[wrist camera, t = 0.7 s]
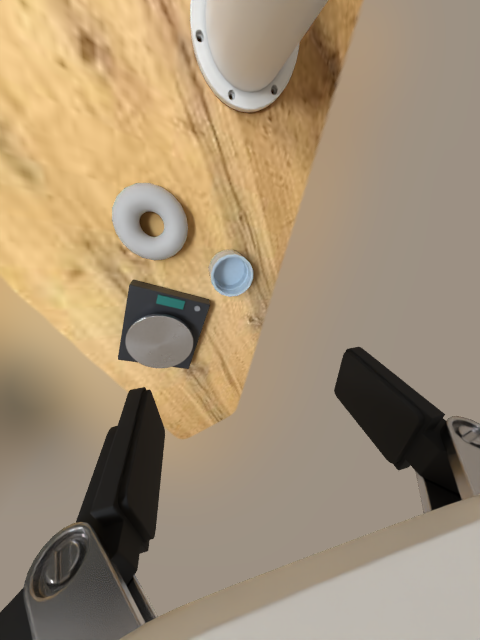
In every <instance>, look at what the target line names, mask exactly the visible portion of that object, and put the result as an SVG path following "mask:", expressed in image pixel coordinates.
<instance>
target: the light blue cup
mask: <svg viewBox="0 0 480 640" xmlns="http://www.w3.org/2000/svg"><path fill="white" fill-rule="evenodd" d="M209 276H210V279H211V282H212V284H213V286H214V288H215V289H216V290H217V291H218V292H219V293H220V294H222V295H225V296H229V297H230V296H238V295H240V294H242V293H244V292H245V291H246V290H247V289H248V288H249V287H250V285H251V282H252V280H253V269H252V267H251V264H250V262H249V261H248V260H246V259H245V258H244V257H243V256H242V255H241V254H240V253H239V252H237V251H234V250H222V251H220V252H218V253H217V254H215V256H214V257H213V258H212V259H211V261H210V265H209Z"/></svg>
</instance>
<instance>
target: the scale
mask: <svg viewBox="0 0 480 640" xmlns="http://www.w3.org/2000/svg"><path fill="white" fill-rule="evenodd" d="M209 307H210V303H209V299H205V298H201V297H197V296H193V295H190V294H186V293H182V292H178V291H174V290H170V289H167V288H163V287H159V286H155V285H151V284H148V283H144V282H140V281H136V280H133V281H132V282H131V284H130V285H129V291H128V298H127V304H126V310H125V317H124V323H123V330H122V336H121V342H120V349H119V355H118V360H125V361H133V362H137V361H136V360H135V359H134V358H133V357H132V356H131V355H130V354H129V352H128V350H127V348H126V342H125V340H126V335H127V332H128V330H129V328H130V327H131V325H132V324H133V323H134V322H135V321H137V320H138V319H140V318H142V317H144V316H147V315H151V314H167V315H171V316H174V317H176V318H178V319H180V320H181V321H183V322H184V323H185V324H186V325H187V326H188V327H189V329H190V330H191V333H192V336H193V348H192V351H191V353H190V354H189V356H188V357H187V358H186V359H185V360H184V361H183V362H181V363H179V364H177V365H175V366H172V367H178V368H186V369H189V366H190V363H191V360H192V357H193V354H194V351H195V348H196V345H197V342H198V339H199V336H200V333H201V330H202V327H203V324H204V321H205V318H206V315H207V313H208V310H209Z"/></svg>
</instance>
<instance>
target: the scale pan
mask: <svg viewBox="0 0 480 640" xmlns="http://www.w3.org/2000/svg"><path fill="white" fill-rule="evenodd" d="M125 342H126V348H127V350H128V352H129V354H130V355H131V356H132V357H133V358H134V359H135V360H136V361H137V362H139V363H141V364H143V365H145V366H148V367H152V368H168V367H172V366H175V365H177V364H179V363H181V362H183V361H184V360H185V359H186V358H187V357H188V356H189V354H190V353H191V351H192V348H193V336H192V333H191V330H190V329H189V327H188V326H187V325H186V324H185V323H184V322H183V321H181V320H180V319H178V318H176V317H174V316H171V315H167V314H151V315H147V316H144V317H142V318H140V319H138V320H137V321H135V322H134V323H133V324H132V325H131V327H130V328H129V330H128V332H127V335H126V340H125Z"/></svg>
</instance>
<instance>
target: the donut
mask: <svg viewBox="0 0 480 640" xmlns="http://www.w3.org/2000/svg"><path fill="white" fill-rule="evenodd" d="M147 211H152V212H155V213H157V214H158V215H159V216H160V217H161V218H162V220H163V222H164V231H163V233H162V234H161V235H159V236H157V237H151V236H149V235H147V234H145V233H144V232H143V230H142V229H141V227H140V223H139V221H140V217H141V215H142V214H143V213H145V212H147ZM112 221H113V225H114V228H115V231H116V234H117V235H118V237H119V238H120V240H121V241H122V243H123V244H124V245H125V246H126V247H127V248H128V249H129V250H131V251H132V252H133V253H135V254H137V255H139V256H141V257H142V258H146V259H151V260H163V259H167V258H169V257H171V256H174V255H175V254H176V253H177V252H178V251H179V250H180V249H182V247H183V245H184V243H185V241H186V239H187V233H188V224H187V217H186V215H185V212H184V210H183V208H182V206H181V204H180V203H179V202H178V201H177V199H176V198H175V197H174V196H173V195H172V194H171V193H170V192H168V191H167V190H165V189H164V188H162V187H160V186H157V185H154V184H151V183H135V184H133V185H131V186H128V187H126V188H124V189H123V190H122V192H121V193H120V194H119V195H118V196H117V197H116V200H115V202H114V205H113V207H112Z"/></svg>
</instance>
